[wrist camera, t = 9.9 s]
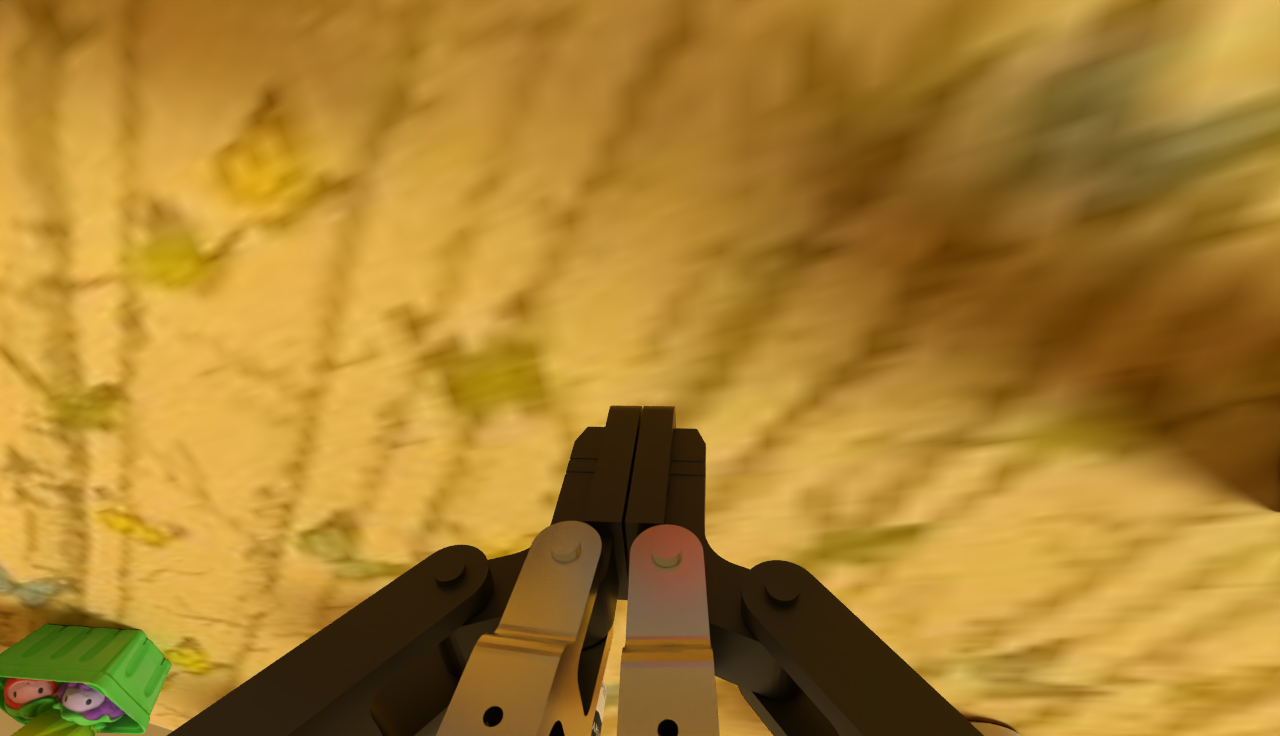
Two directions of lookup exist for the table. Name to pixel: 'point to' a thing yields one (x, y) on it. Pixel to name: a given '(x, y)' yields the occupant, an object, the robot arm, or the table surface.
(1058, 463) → the table surface
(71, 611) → the table surface
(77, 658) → the fruit basket
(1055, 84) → the table surface
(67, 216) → the table surface
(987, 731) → the travel mug
